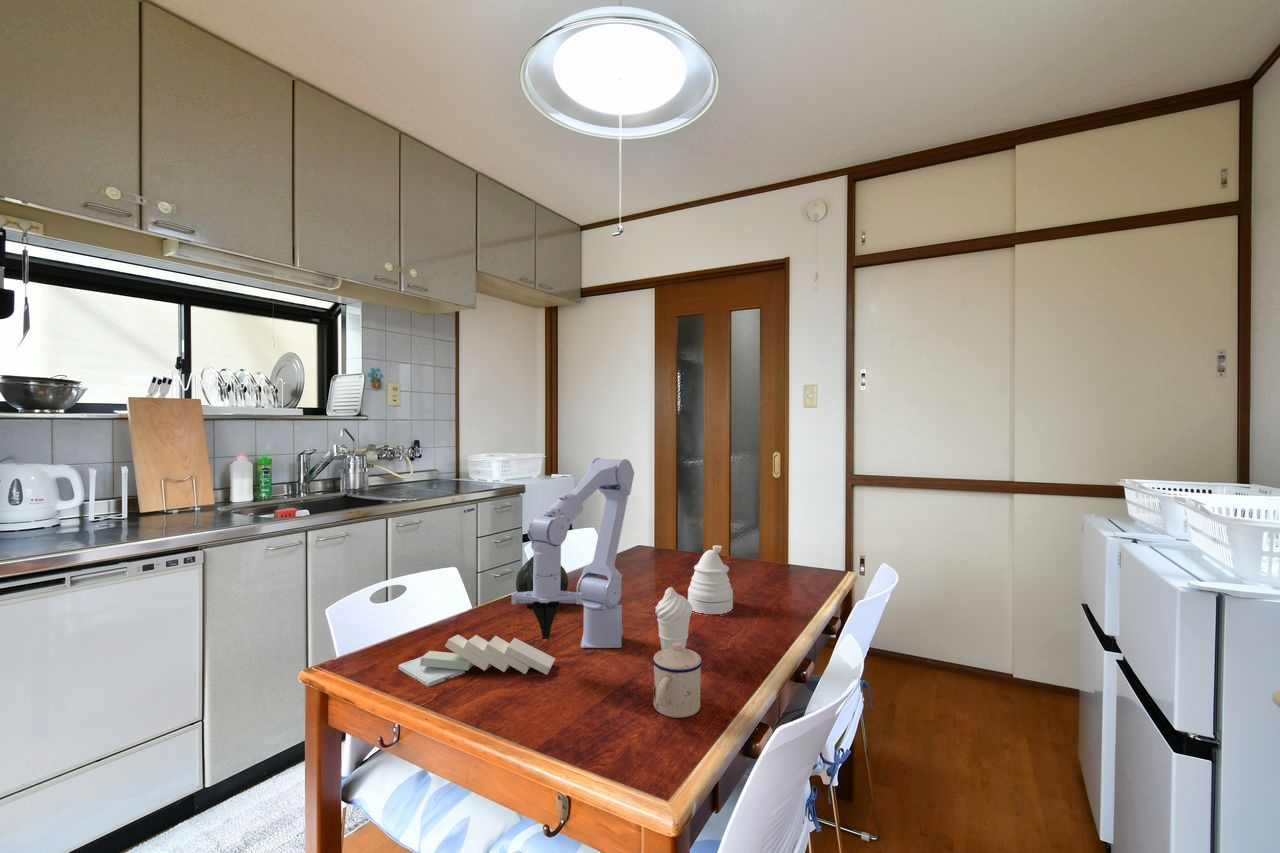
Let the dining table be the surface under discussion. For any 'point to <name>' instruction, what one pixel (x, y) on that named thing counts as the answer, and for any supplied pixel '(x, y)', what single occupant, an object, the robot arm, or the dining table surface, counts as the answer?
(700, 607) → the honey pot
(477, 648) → the domino
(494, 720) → the dining table surface
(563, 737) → the dining table surface
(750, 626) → the dining table surface
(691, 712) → the teacup with lid
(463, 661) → the domino
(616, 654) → the dining table surface
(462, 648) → the domino
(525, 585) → the squash
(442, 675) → the hard drive
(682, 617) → the soft serve ice cream cone
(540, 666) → the domino
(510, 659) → the domino
